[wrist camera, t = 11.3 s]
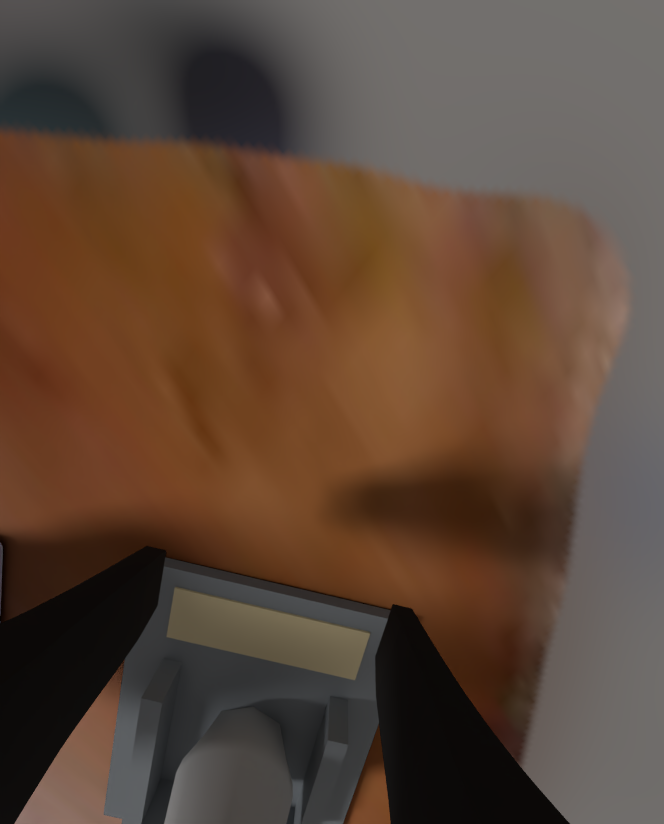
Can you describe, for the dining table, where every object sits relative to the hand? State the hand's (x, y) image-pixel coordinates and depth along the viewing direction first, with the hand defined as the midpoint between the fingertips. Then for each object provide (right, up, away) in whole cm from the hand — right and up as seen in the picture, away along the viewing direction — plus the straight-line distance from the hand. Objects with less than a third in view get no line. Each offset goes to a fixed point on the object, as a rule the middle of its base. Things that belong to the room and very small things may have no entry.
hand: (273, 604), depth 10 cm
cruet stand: (-3, -11, +9) cm, 15 cm away
